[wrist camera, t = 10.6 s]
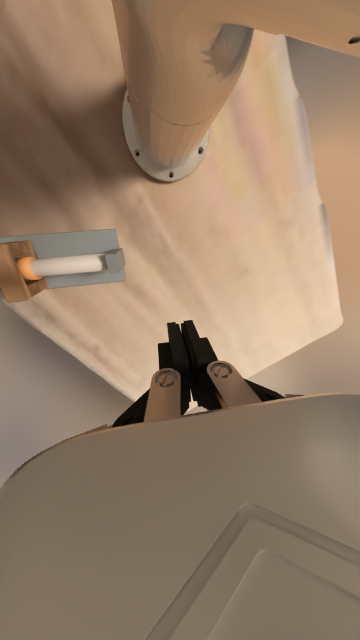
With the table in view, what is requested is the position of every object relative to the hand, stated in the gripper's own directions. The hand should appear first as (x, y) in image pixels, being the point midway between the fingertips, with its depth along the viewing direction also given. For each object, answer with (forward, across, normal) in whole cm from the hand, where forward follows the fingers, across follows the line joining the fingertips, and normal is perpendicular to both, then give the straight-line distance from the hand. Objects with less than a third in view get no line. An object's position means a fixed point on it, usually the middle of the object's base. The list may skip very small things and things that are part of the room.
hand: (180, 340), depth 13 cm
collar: (+25, +22, -2) cm, 33 cm away
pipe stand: (+27, +17, -2) cm, 32 cm away
